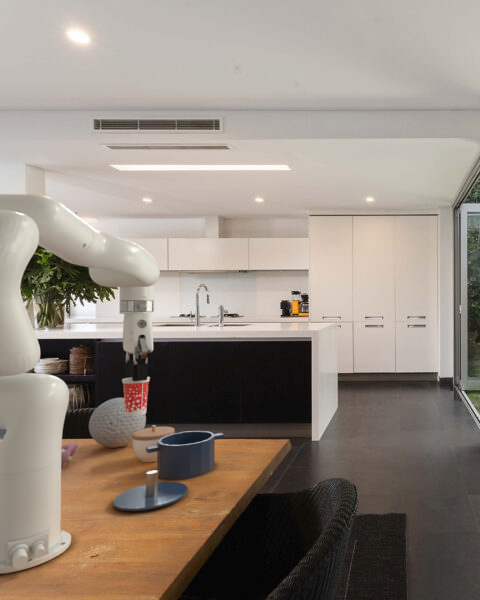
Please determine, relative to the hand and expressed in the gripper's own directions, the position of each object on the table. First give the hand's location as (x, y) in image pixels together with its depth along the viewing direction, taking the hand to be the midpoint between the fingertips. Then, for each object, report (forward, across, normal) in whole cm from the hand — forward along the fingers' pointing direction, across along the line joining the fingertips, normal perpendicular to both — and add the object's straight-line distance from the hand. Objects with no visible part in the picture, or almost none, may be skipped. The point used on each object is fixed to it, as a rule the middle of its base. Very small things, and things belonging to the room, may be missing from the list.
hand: (136, 378), depth 114 cm
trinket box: (+25, +14, -8) cm, 30 cm away
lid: (+25, -16, 0) cm, 30 cm away
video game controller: (+25, +24, +12) cm, 37 cm away
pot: (+25, -2, -12) cm, 28 cm away
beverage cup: (+9, 0, 0) cm, 9 cm away
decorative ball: (+25, +34, -3) cm, 42 cm away
